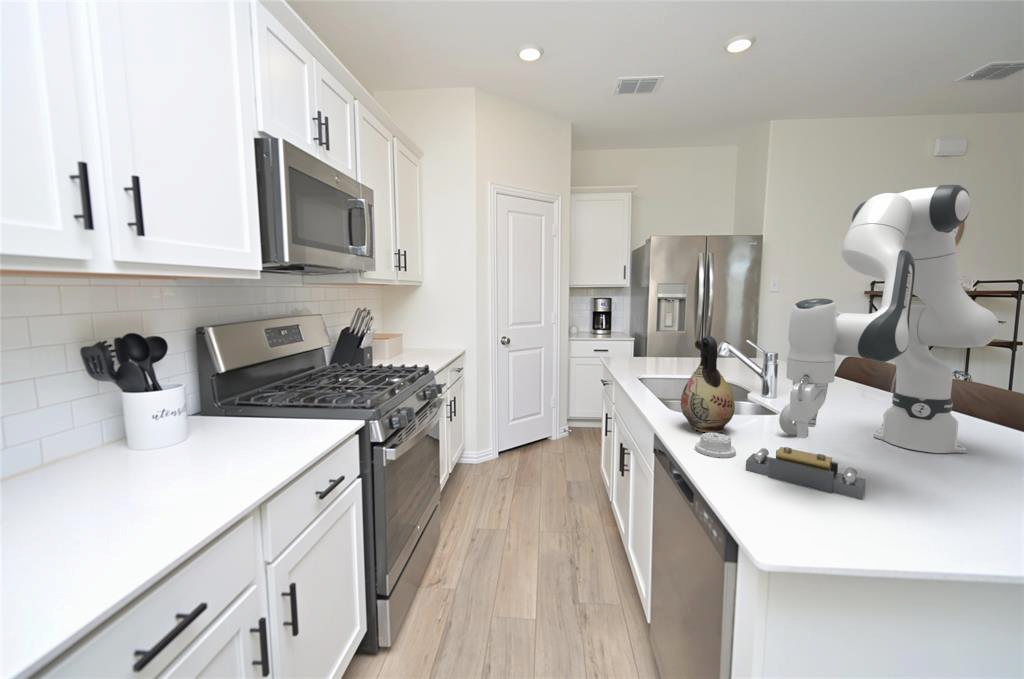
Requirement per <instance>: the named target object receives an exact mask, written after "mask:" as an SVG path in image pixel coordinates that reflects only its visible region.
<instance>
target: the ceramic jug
mask: <svg viewBox="0 0 1024 679" xmlns="http://www.w3.org/2000/svg"><path fill="white" fill-rule="evenodd" d="M694 345H695V346H694V347H695V348H696V349H698V350H699V351H700V353H701V354H700V355H701V356H700V357H701V358H700V362H699V364H698V367H697V368H696V369H695V370H694V372H692V374H691V376H690V377H689V378H688V381H687V382H686V384H685V385H684V388H683V390H682V392H681V398H680V408H681V412H682V415H683V416H684V417H685V419H686V421H688V423H689V424H690V426H691V429H692V428H694V429H695V430H694V429H693V430H694V431H696V430H698V431H697V432H699V431H701V432H700V433H703V432H705V433H708V432H709V433H718V434H721V433H723V432H724V431H725V427H726V426H727V425H728V423H730V422H731V420H732V419H733V416H734V413H735V409H736V408H735V407H736V404H735V400H734V399H735V398H734V396H733V392H732V390H731V387H730V386H729V384H728V382H727V381H726V379H725V378H724V376H723V375H722V374H721V372H720V371H719V369H717V366H718V364H717V362H718V361H717V360H718V353H719V352H718V343H717V340H716V339H715V337H713V336H712V335H706V336H704V337H702V340H700V339H696V341H695V343H694Z"/></svg>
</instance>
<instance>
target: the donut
mask: <svg viewBox="0 0 1024 679" xmlns="http://www.w3.org/2000/svg"><path fill="white" fill-rule="evenodd" d="M778 421H779V424H778V425H779V426H780V429H781V430H782V431H783V433H784V434H787V435H788V436H794V437H795V436H797V431H798V429H797V425H796V421H792V420H791V419H790V403H788V404H787V405H785V406H784V407H783V409H782V410H781V411H780V414H779V420H778Z"/></svg>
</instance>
